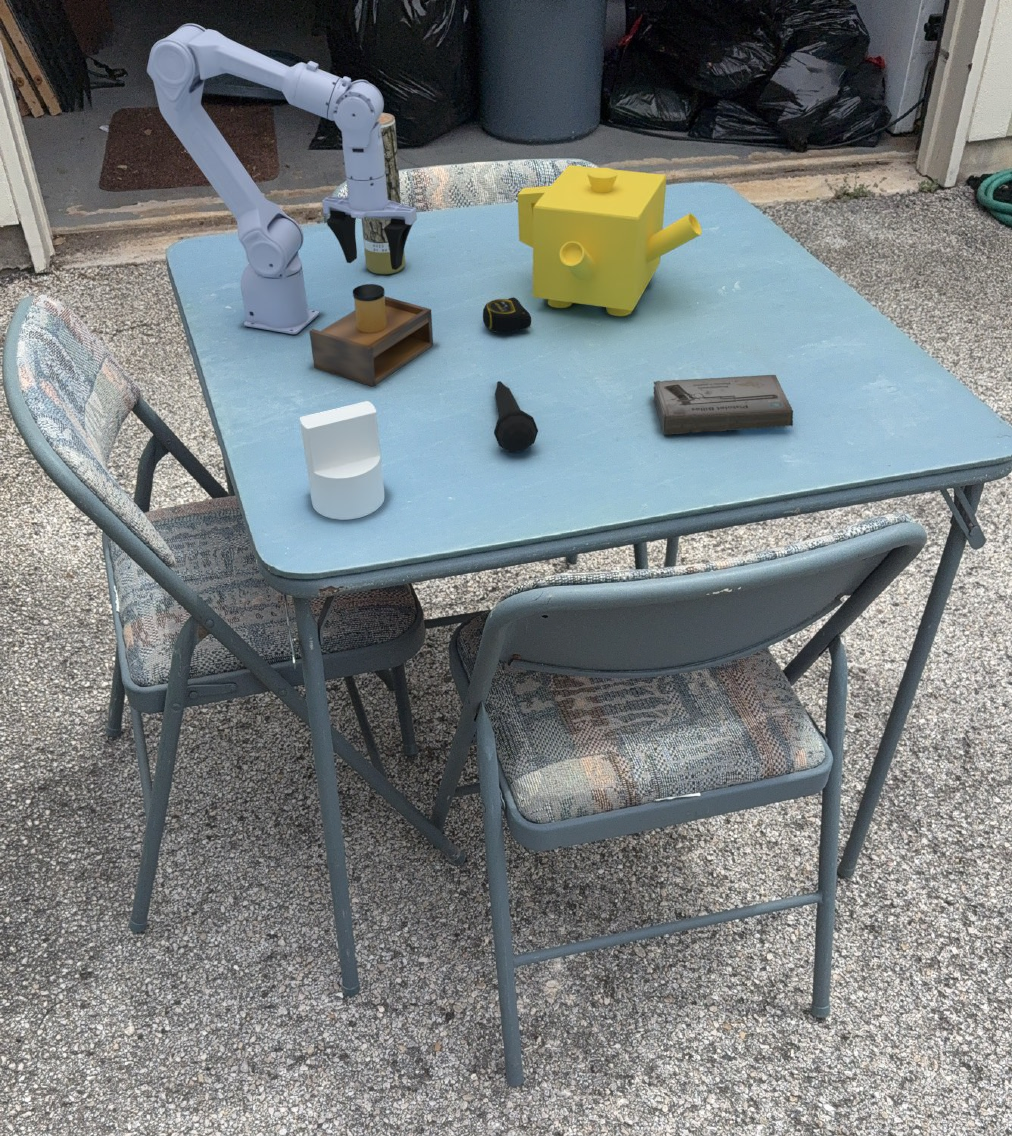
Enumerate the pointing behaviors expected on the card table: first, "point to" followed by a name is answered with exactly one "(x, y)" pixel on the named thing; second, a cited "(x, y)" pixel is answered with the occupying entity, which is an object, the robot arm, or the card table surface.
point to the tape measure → (505, 316)
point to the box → (721, 404)
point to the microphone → (513, 422)
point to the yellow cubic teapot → (598, 236)
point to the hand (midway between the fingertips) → (374, 263)
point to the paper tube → (373, 227)
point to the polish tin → (370, 308)
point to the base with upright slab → (344, 461)
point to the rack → (373, 343)
